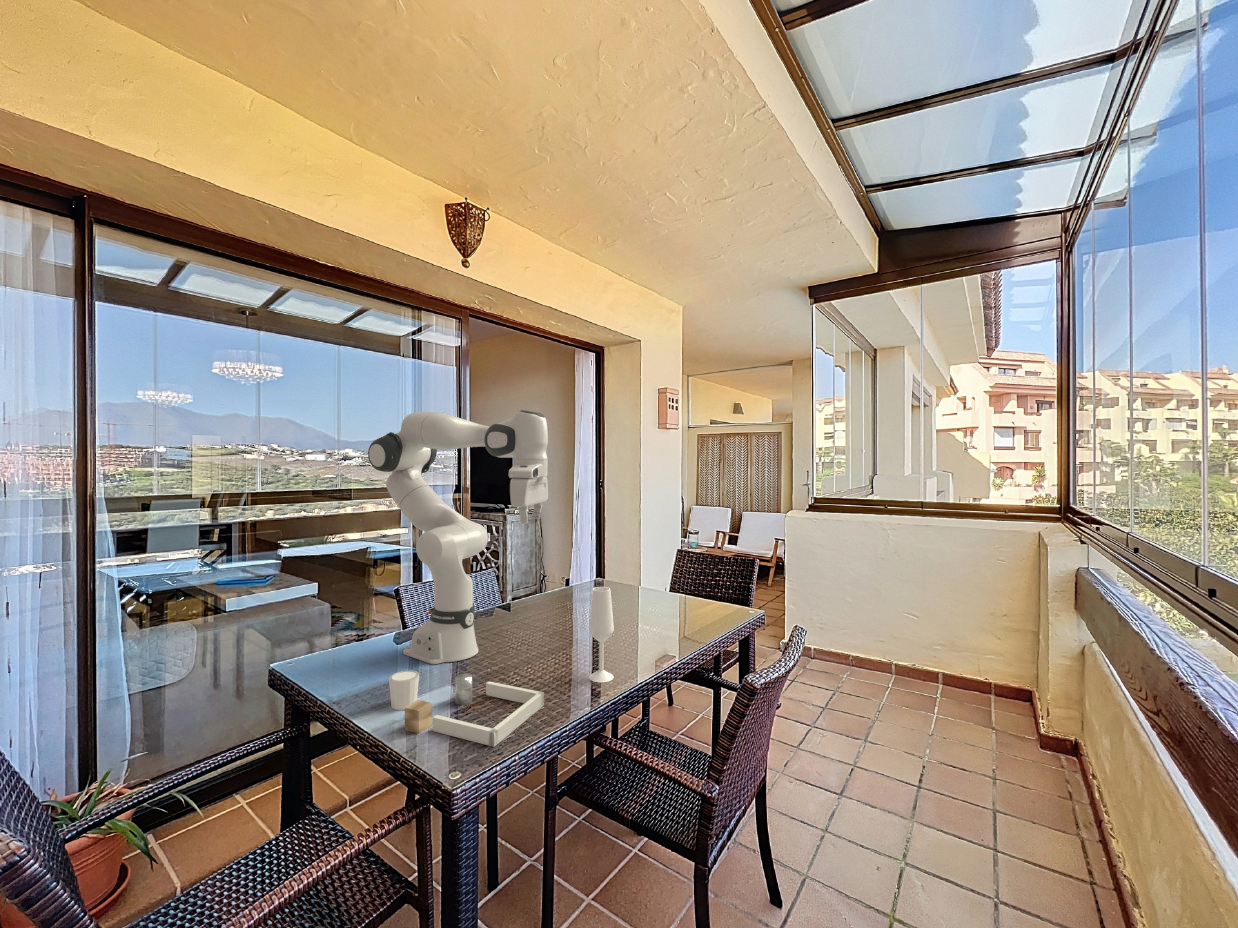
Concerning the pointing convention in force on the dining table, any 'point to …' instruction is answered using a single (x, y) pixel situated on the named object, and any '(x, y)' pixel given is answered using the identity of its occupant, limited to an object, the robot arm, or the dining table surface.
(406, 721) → the oak block
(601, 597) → the champagne flute
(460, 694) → the steel part
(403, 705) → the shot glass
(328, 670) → the dining table surface
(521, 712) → the frame
